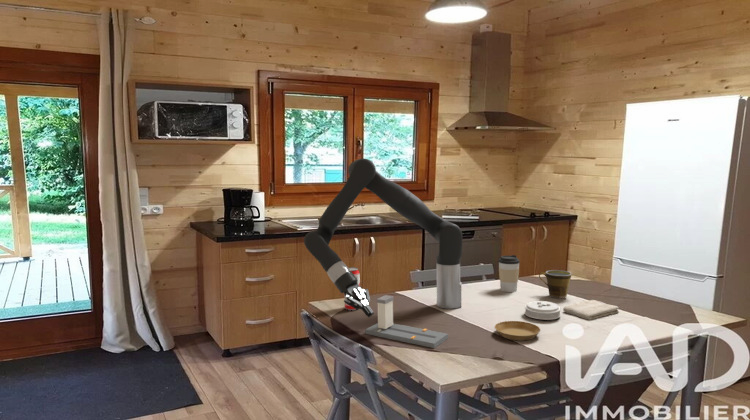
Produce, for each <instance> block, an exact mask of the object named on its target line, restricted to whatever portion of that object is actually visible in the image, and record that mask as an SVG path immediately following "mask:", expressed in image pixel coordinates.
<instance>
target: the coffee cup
mask: <svg viewBox="0 0 750 420" xmlns="http://www.w3.org/2000/svg"><path fill="white" fill-rule="evenodd" d="M497 262H498V274H499V276H498V277H499V285H500V286H499V287H500V291H501V292H504V293H505V292H506V293H514V292H517V291H518V282H519V275H520V274H519V273H520V259H519V258H518V257H517V255H515V254H512V255H501V256H500V258H499V259H498V261H497Z"/></svg>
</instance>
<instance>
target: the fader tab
mask: <svg viewBox="0 0 750 420" xmlns="http://www.w3.org/2000/svg"><path fill="white" fill-rule="evenodd" d="M394 297H395V296H392V295H387V294H385V295H383V296H381V297H378V298H376V303H377V323H378V328H383V329H387V328H388V327H390V326H392V325H393V323H394V301H395V299H394Z"/></svg>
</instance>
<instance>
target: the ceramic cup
mask: <svg viewBox="0 0 750 420" xmlns="http://www.w3.org/2000/svg"><path fill="white" fill-rule="evenodd" d="M541 275H543V276H544V277H545V278H546V281H545V280H544V279H543V278H542V277H541ZM538 278H539V279H540V280H541V281H542V282H543V283H544V284H545V285H546V287H547V289H548V295H549V297H551V298H552V299H558V300H559V299H566V298H567V297H568V291H569V286H570V282H571V279H572V272H570V271H568V270H567V271H566V270H561V269H560V270H559V269H551V270H546V271H545V272H540V273H539V274H538Z"/></svg>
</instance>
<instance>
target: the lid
mask: <svg viewBox="0 0 750 420" xmlns="http://www.w3.org/2000/svg"><path fill="white" fill-rule="evenodd" d="M524 309H525V311H524V314H525V316H527V317H529V318H533V319H536V320H541V321H542V320H545V321H546V320H547V321H549V320H551V321H552V320H557V319H560V318H561V316H562V314H561V310H562V309H561V307H560V306H559V305H558V304H557V303H555V302H552V301H546V300H545V301H544V300H534V301H530V302H528V303H526V304H525V305H524Z"/></svg>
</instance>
